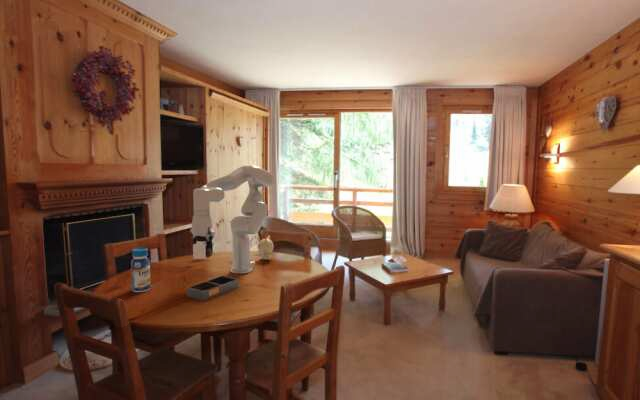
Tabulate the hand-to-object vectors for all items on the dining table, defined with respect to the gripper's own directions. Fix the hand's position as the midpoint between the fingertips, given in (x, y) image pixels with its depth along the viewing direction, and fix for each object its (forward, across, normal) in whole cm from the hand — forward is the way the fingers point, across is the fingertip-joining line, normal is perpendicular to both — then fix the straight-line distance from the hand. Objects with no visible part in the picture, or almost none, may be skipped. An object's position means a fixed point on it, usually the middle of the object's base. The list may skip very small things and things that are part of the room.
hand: (202, 246), depth 185 cm
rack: (+19, +13, -6) cm, 24 cm away
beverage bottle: (+19, -18, -23) cm, 35 cm away
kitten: (+20, -5, +55) cm, 59 cm away
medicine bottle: (+6, 0, 0) cm, 6 cm away
